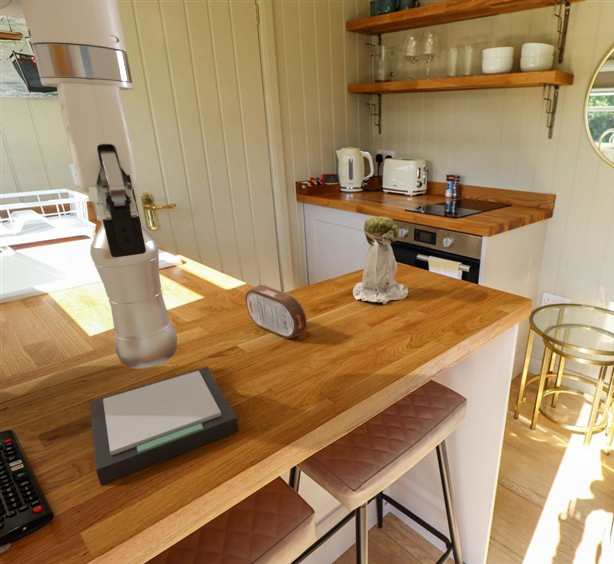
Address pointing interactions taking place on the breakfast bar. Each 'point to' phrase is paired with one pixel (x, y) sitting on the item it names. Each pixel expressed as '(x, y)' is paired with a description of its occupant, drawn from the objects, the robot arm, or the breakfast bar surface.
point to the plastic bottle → (135, 301)
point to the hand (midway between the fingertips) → (125, 245)
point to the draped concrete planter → (380, 263)
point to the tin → (276, 311)
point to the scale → (158, 422)
